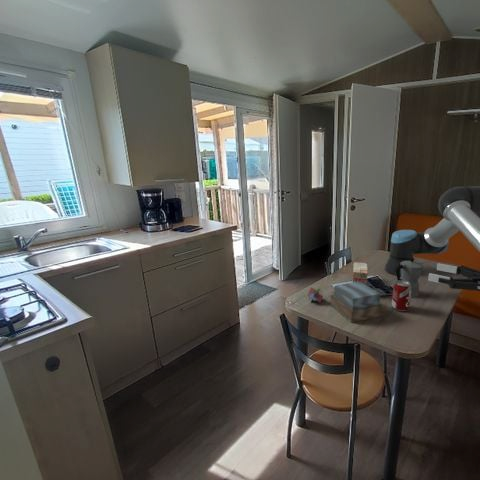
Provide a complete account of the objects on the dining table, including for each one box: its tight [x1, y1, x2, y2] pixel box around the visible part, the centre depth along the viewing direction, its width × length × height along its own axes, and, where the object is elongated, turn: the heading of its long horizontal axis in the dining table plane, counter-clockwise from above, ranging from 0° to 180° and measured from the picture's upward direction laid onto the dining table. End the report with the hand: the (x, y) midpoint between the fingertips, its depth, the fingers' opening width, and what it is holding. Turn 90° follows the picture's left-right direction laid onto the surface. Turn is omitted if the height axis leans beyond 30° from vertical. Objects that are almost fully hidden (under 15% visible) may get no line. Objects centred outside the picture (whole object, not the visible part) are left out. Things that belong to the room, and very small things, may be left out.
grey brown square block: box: [329, 281, 384, 323], centre depth 124 cm, size 15×15×10 cm
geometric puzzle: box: [307, 287, 324, 304], centre depth 134 cm, size 7×7×8 cm
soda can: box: [391, 280, 412, 312], centre depth 124 cm, size 7×7×12 cm
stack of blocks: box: [352, 261, 369, 286], centre depth 146 cm, size 21×6×12 cm, turn 158°
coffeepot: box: [395, 257, 424, 298], centre depth 136 cm, size 15×9×18 cm, turn 107°
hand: (432, 271), depth 113 cm, fingers open, 13 cm apart
